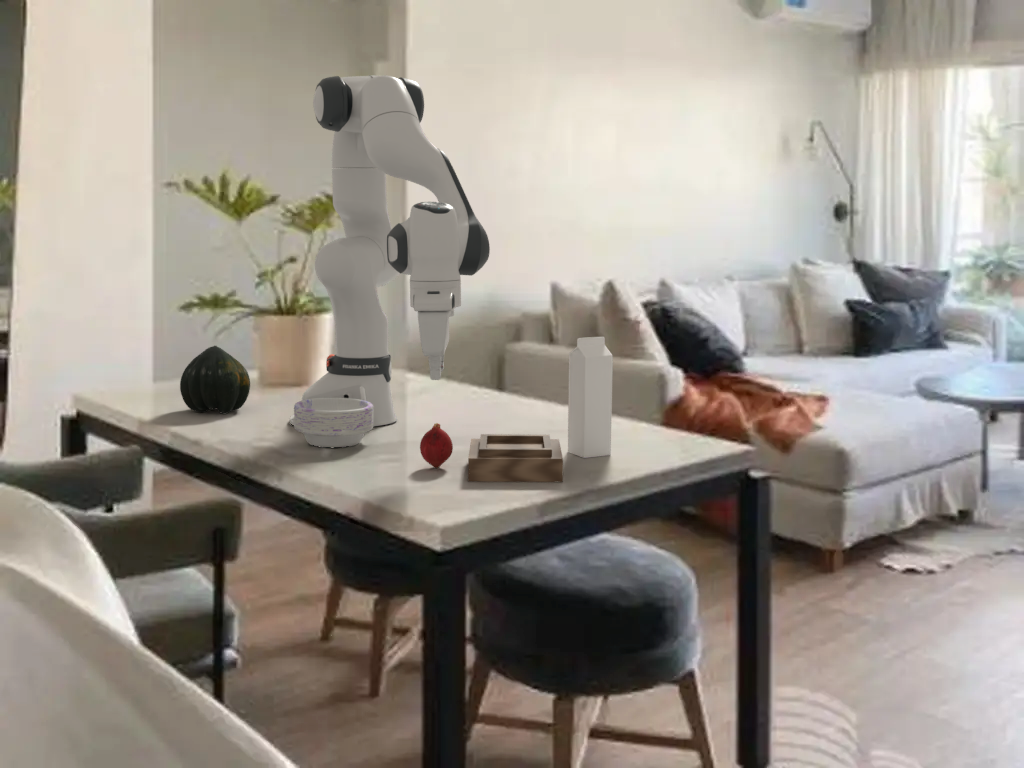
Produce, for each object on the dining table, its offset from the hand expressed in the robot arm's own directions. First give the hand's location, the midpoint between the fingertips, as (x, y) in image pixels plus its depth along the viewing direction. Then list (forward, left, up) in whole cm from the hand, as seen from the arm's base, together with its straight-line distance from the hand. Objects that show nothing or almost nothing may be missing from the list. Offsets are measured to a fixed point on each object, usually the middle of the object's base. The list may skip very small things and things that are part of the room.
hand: (437, 375), depth 208 cm
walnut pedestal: (+14, -2, -17) cm, 22 cm away
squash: (-52, +53, -17) cm, 76 cm away
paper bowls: (-21, +20, -17) cm, 34 cm away
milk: (+28, +12, -17) cm, 35 cm away
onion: (0, 0, -17) cm, 17 cm away
